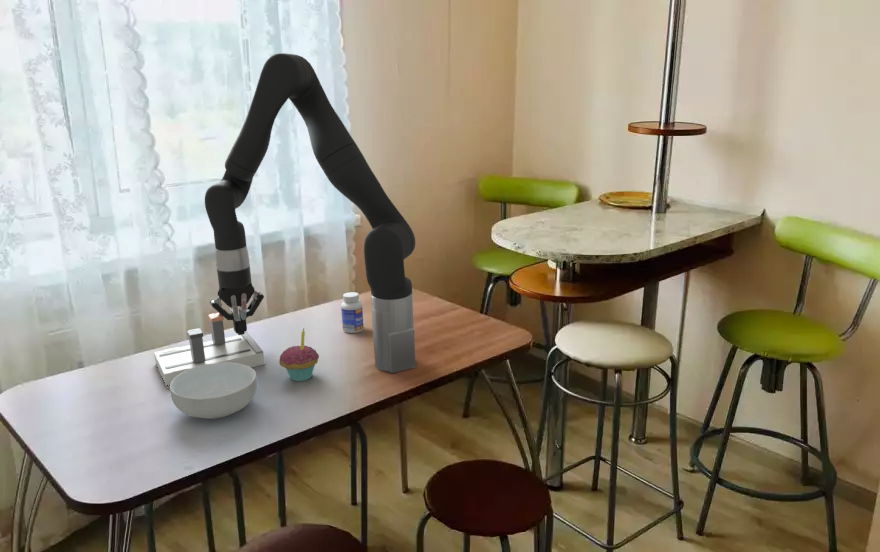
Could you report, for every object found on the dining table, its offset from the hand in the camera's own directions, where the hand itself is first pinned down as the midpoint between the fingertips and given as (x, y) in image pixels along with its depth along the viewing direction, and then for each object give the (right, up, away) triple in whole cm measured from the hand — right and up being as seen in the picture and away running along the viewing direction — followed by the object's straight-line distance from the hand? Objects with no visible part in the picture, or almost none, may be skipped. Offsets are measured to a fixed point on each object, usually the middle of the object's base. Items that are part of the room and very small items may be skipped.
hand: (241, 333), depth 178 cm
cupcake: (+17, -9, -14) cm, 24 cm away
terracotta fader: (-5, -2, -2) cm, 6 cm away
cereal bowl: (+3, -14, -28) cm, 31 cm away
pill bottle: (+26, 0, +12) cm, 29 cm away
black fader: (-6, -5, -12) cm, 14 cm away
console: (-6, -7, -6) cm, 11 cm away
